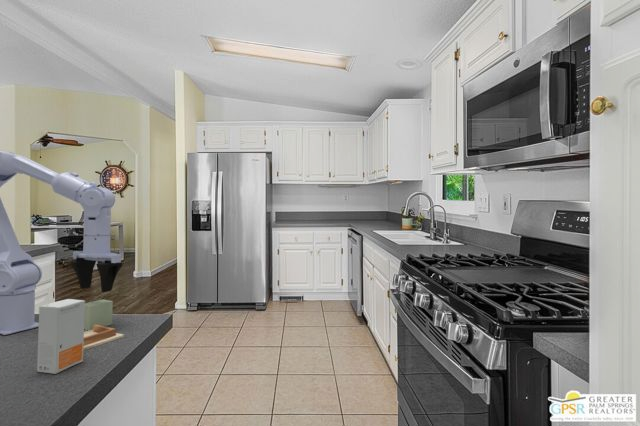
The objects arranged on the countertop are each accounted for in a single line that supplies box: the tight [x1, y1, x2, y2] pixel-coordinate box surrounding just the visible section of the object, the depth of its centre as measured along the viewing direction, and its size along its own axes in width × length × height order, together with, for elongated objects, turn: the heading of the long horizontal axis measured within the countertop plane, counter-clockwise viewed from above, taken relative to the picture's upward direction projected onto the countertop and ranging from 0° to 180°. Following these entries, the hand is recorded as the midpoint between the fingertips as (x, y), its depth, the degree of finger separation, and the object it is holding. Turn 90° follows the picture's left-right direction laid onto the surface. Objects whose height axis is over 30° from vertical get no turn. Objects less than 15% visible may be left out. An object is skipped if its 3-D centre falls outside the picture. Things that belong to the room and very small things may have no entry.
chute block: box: [84, 299, 114, 331], centre depth 91 cm, size 4×6×6 cm, turn 156°
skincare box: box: [36, 298, 86, 375], centre depth 67 cm, size 6×4×12 cm
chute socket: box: [83, 325, 125, 352], centre depth 80 cm, size 10×12×2 cm
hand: (96, 289), depth 90 cm, fingers open, 7 cm apart
